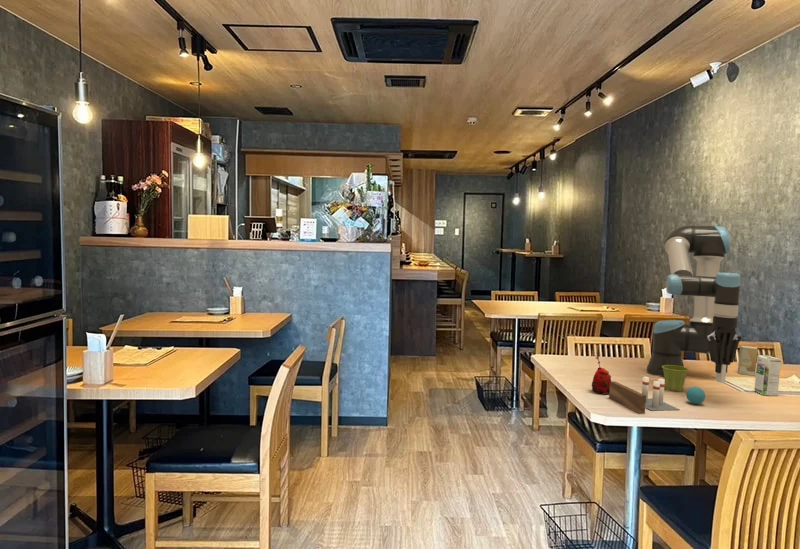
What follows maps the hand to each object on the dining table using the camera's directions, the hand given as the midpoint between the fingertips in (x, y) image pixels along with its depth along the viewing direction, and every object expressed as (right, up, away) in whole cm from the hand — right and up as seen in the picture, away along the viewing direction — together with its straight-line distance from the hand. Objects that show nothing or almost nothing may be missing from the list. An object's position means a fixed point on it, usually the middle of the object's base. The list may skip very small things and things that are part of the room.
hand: (720, 381), depth 199 cm
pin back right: (-28, -7, -1) cm, 29 cm away
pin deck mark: (-26, -7, -4) cm, 27 cm away
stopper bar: (-36, -7, -6) cm, 37 cm away
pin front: (-23, -7, -3) cm, 25 cm away
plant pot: (-8, -7, +18) cm, 21 cm away
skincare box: (+40, -6, +49) cm, 64 cm away
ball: (-9, -5, -1) cm, 10 cm away
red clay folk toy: (-39, -6, +10) cm, 41 cm away
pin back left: (-27, -7, -7) cm, 28 cm away
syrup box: (+27, -8, +16) cm, 32 cm away
